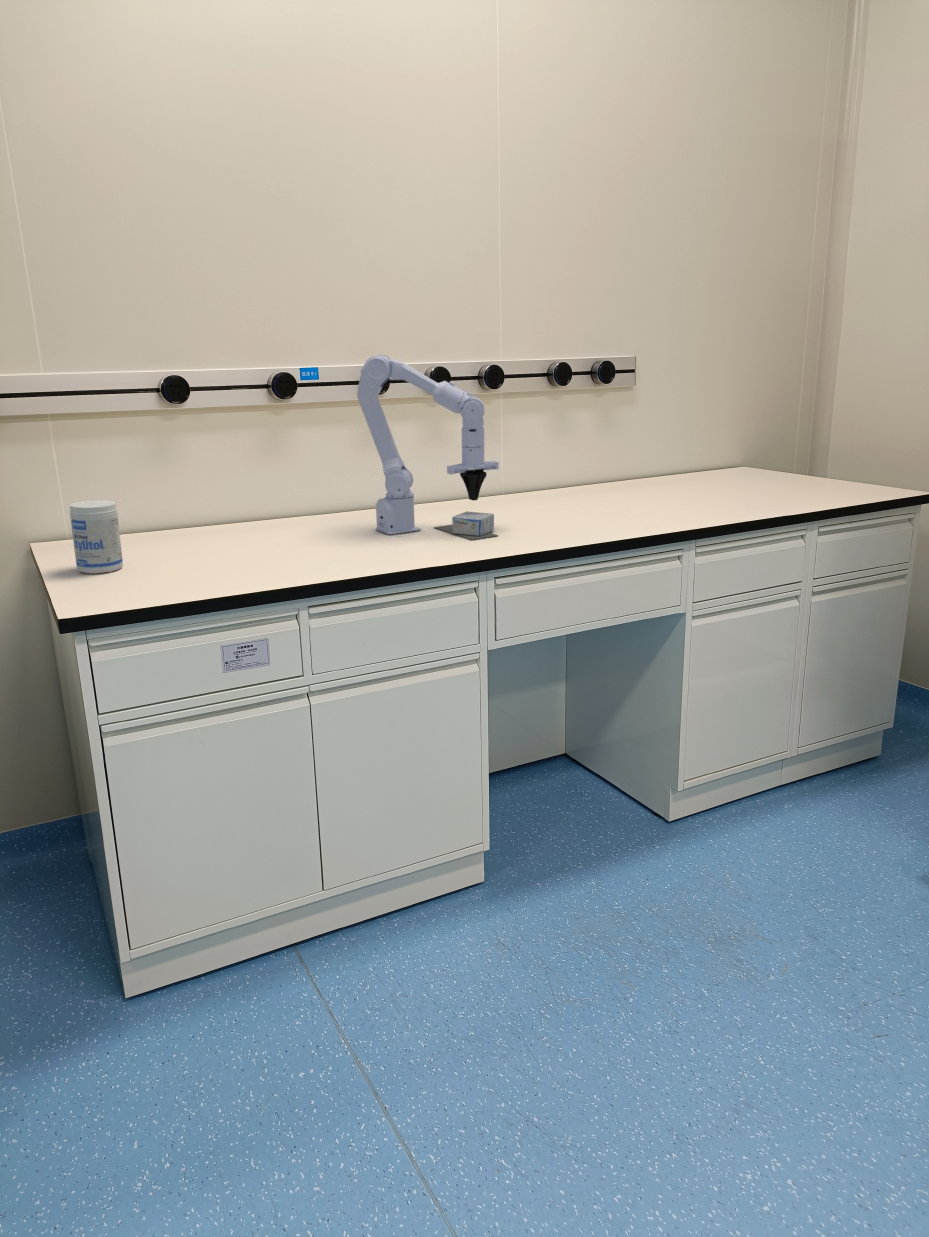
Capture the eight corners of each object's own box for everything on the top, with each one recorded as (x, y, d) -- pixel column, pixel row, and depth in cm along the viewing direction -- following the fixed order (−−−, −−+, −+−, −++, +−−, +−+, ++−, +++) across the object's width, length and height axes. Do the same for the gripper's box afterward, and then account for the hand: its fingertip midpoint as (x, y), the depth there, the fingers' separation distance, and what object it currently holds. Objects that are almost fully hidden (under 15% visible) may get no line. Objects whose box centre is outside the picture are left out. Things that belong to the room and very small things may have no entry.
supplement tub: (73, 576, 192) (63, 508, 188) (82, 565, 201) (72, 500, 197) (120, 573, 194) (111, 506, 190) (127, 562, 203) (119, 498, 198)
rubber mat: (471, 540, 221) (471, 539, 221) (433, 528, 235) (433, 527, 235) (498, 536, 225) (498, 535, 225) (459, 524, 239) (459, 523, 239)
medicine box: (467, 527, 234) (451, 534, 227) (467, 510, 233) (451, 516, 226) (494, 530, 231) (479, 537, 223) (494, 513, 229) (479, 519, 222)
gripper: (457, 450, 219) (458, 505, 223) (505, 445, 227) (505, 498, 231) (442, 447, 225) (443, 501, 229) (489, 443, 232) (489, 495, 236)
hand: (473, 499), depth 230 cm, fingers closed
